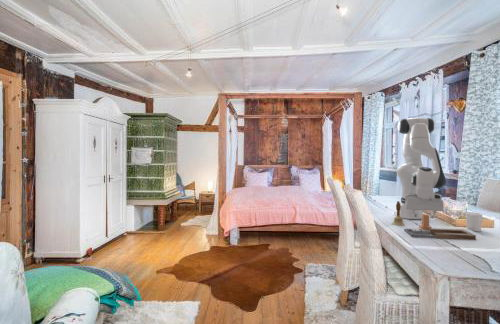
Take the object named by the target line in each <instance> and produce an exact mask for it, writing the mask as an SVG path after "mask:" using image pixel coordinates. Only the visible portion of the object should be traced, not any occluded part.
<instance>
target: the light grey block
mask: <svg viewBox="0 0 500 324" xmlns="http://www.w3.org/2000/svg"><path fill="white" fill-rule="evenodd" d="M419 229H420V228H419ZM420 231H421V235H431V234H430V231H429V230H428V229H420Z"/></svg>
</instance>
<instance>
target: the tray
mask: <svg viewBox="0 0 500 324" xmlns="http://www.w3.org/2000/svg"><path fill="white" fill-rule="evenodd" d="M411 229H412V228H404V229H403V230H404V232H405V233H406V234H407V235H409V236H410V237H411V238H425V239H427V238H428V239H429V238H431V239H437V238H436V235H431V234H430V235H416V234H412V233H411ZM418 229H419V230H420V228H418Z"/></svg>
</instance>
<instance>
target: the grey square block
mask: <svg viewBox="0 0 500 324" xmlns="http://www.w3.org/2000/svg"><path fill="white" fill-rule="evenodd" d="M410 229H411V232H410V233H412V234H416V235H421V231H420V230H419V229H420V228H410Z"/></svg>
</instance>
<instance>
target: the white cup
mask: <svg viewBox="0 0 500 324" xmlns="http://www.w3.org/2000/svg"><path fill="white" fill-rule="evenodd" d="M465 222H466V229H468V230H471V231H472V232H481V231H482V223H483V213H480V212H475V211H474V212H473V211H472V212H471V211H469V212H467V211H466V212H465Z"/></svg>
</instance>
